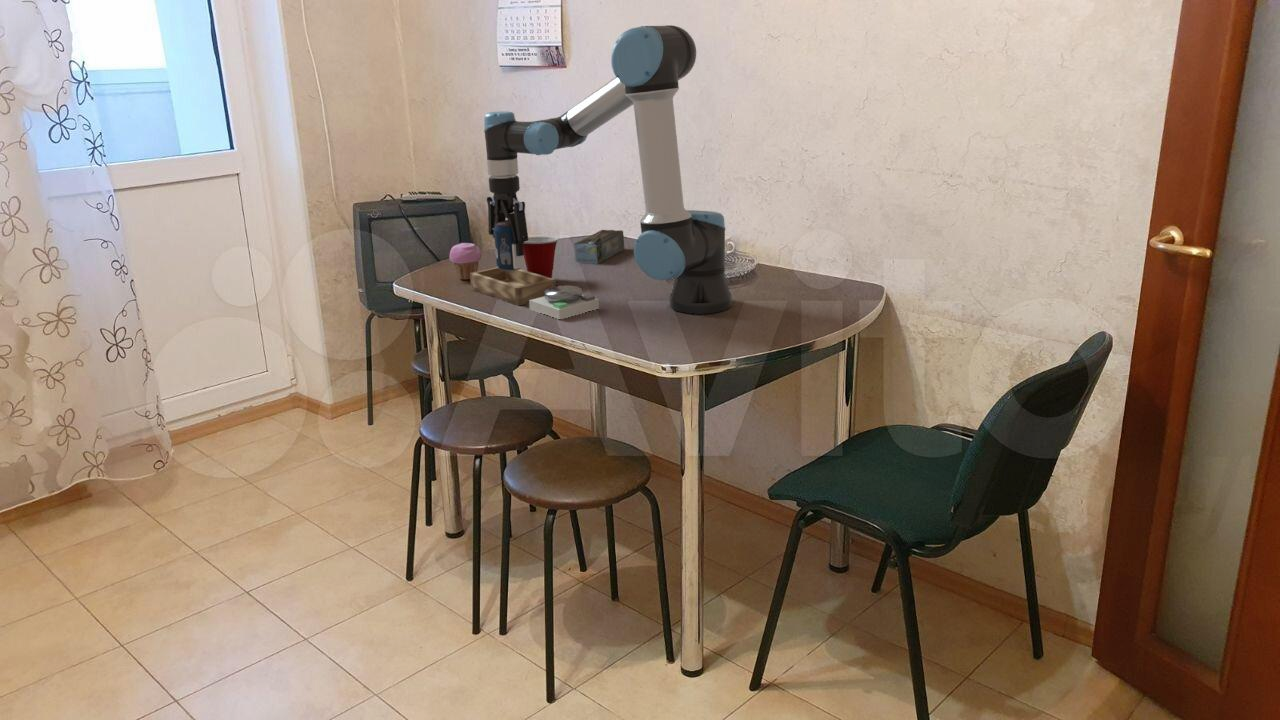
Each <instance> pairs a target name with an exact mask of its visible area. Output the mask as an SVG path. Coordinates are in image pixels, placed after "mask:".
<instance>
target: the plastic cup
mask: <svg viewBox="0 0 1280 720" xmlns="http://www.w3.org/2000/svg"><path fill="white" fill-rule="evenodd" d="M558 241H559V237H556V236H544V235H543V236H528V241H525V242H523V251H524V254H523V258H524V262H525V263H524V264H525V267H526V268H525V269H526V271H528V272H532V273H535V274H539V275H542V276H546V277H549V278H552V279H553V270H554V262H555V255H556V248H557V244H558Z"/></svg>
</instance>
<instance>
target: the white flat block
mask: <svg viewBox="0 0 1280 720" xmlns="http://www.w3.org/2000/svg"><path fill="white" fill-rule="evenodd" d="M528 304H529V305H528V306H529V311H532V312H534V311H535V312H534V313H537V312H538V314H540V313H542V314H541V315H543V314H546V315H549V316H551V317H550V318H552V317H554V318H553V319H555V318H557V319H556V320H558V319H562V320H564V319H563V318H566V319H568V317H569V318H572V317H571V316H573V317H575V315H576V316H579V314H580V315H583V314H586V313H585V312H587V313H589V312H588V311H591V312H593V311H592V310H594V311H597V310H596V309H598V310H599V309H600V302H599V299H598V298H596V297H595V295H592V294H589V293H588V294H582V297H581V298H579V299H577V300H573V301H567V302H554V301H549V300H546V299H545V296H544V297H540V298H536V299H532V300H529V303H528ZM582 313H583V314H582ZM546 315H545V316H546ZM549 316H548V317H549Z"/></svg>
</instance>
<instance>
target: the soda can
mask: <svg viewBox="0 0 1280 720" xmlns="http://www.w3.org/2000/svg"><path fill="white" fill-rule="evenodd" d="M493 239H494V249H495V261H496V267H499V269H500V270H503V271H514V270H519V269H521V270H522V268H518V269H514V266H513V253H512V242H514V241H513V237H512V233H511V230H510V226H509V222H508V219H505V220H504V221H502V222H496V226H495V228H494V238H493Z"/></svg>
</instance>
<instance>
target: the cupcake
mask: <svg viewBox="0 0 1280 720" xmlns="http://www.w3.org/2000/svg"><path fill="white" fill-rule="evenodd" d="M481 252H482V251H481V249H480V248H479V247H478V246H477V245H476V244H475V243H470V242H460V243H458V244H455V245H453V246H452V247H451V249H450V251H449V261H450V262H452V263H453V265H454V267H455V269H456V273H457V277H458V278H459V279H460V280H463V281H464V280H470V273H473V272H477V271H478V268H479V261H481V259H482V253H481Z"/></svg>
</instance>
